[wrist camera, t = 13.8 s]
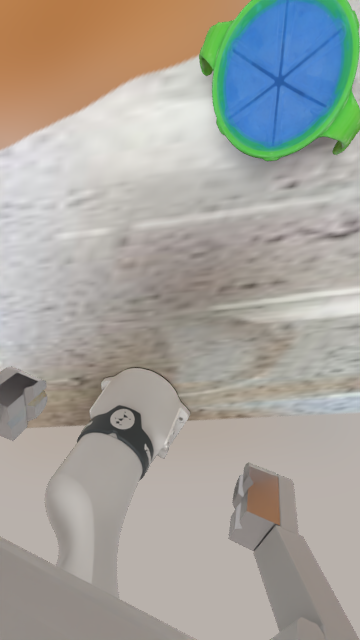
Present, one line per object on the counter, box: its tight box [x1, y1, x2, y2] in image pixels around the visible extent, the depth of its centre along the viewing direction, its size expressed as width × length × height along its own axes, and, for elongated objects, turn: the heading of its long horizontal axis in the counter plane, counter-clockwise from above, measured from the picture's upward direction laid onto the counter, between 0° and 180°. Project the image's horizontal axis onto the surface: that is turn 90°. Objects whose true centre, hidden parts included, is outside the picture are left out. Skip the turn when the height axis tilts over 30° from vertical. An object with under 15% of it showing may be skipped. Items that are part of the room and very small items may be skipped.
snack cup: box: [199, 0, 360, 161], centre depth 25 cm, size 16×10×10 cm
